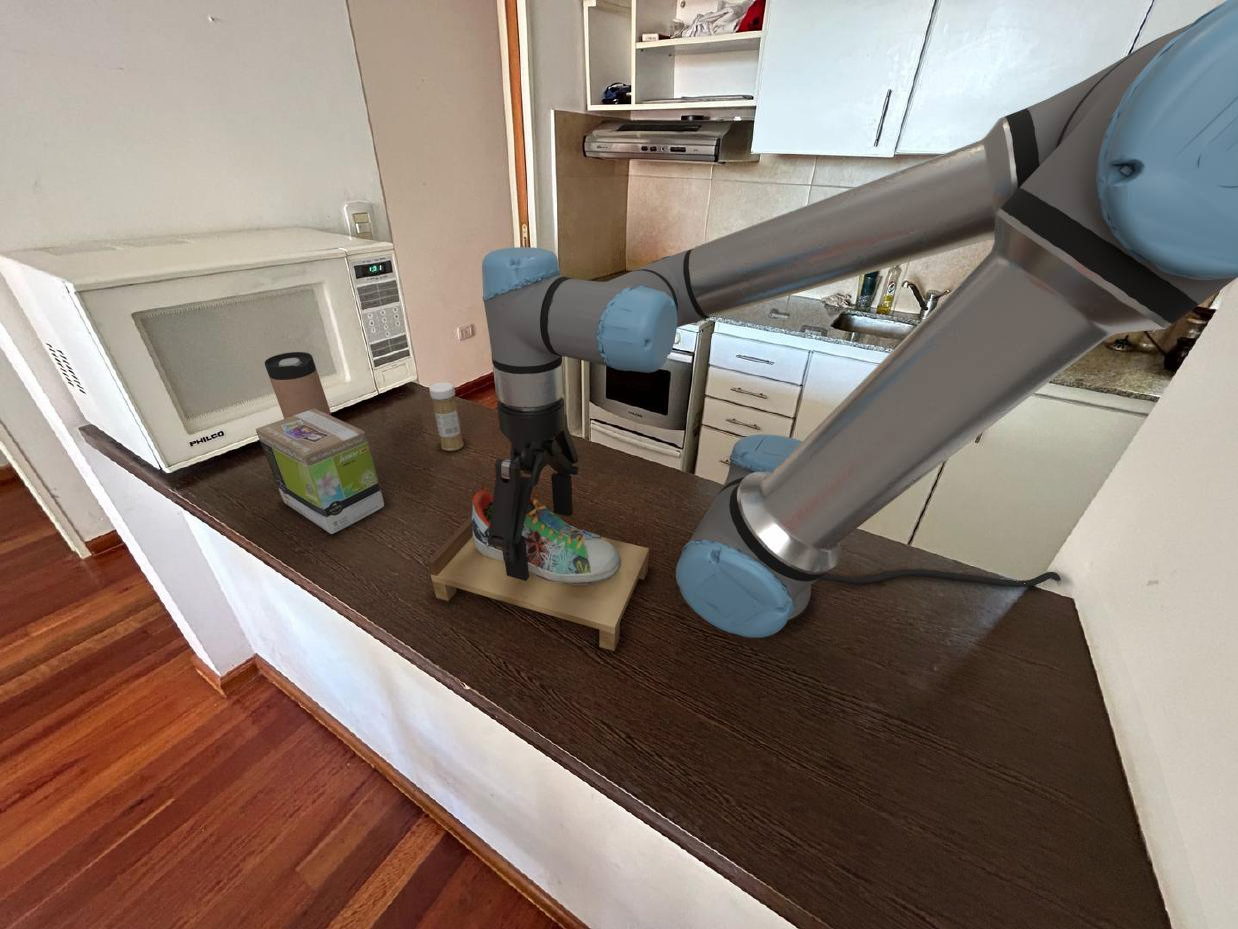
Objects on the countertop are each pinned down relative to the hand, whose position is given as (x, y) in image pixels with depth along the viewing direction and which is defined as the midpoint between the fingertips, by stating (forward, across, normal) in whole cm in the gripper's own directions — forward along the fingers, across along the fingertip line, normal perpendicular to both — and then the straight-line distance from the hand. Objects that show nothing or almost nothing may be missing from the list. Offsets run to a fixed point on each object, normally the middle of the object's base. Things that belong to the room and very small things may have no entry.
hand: (542, 542), depth 69 cm
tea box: (+8, -4, -42) cm, 43 cm away
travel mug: (+8, -16, -57) cm, 60 cm away
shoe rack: (+8, 0, 0) cm, 8 cm away
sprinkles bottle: (+8, -28, -35) cm, 46 cm away
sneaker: (+3, 0, 0) cm, 4 cm away
